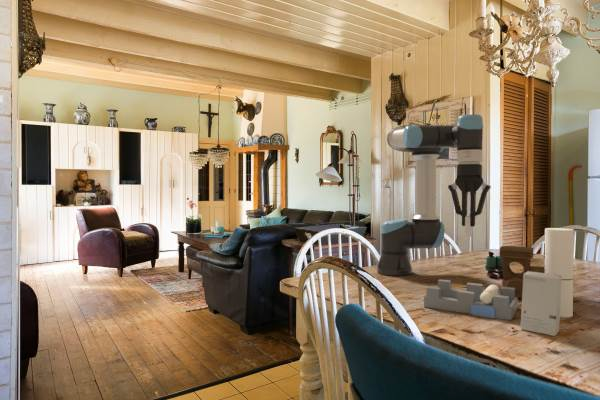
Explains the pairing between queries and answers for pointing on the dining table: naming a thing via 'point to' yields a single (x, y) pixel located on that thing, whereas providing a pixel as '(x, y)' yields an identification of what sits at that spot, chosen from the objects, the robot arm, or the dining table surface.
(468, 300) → the grey notched frame
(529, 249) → the wooden toy train
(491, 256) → the binoculars
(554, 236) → the cylindrical container
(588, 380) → the dining table surface
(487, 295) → the cream round-ended rod
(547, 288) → the skincare box
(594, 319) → the dining table surface
